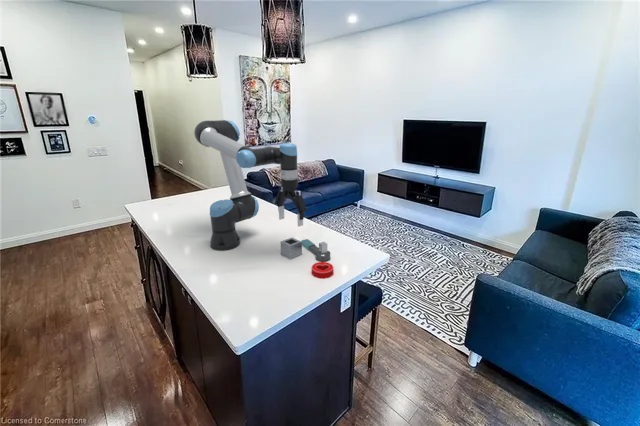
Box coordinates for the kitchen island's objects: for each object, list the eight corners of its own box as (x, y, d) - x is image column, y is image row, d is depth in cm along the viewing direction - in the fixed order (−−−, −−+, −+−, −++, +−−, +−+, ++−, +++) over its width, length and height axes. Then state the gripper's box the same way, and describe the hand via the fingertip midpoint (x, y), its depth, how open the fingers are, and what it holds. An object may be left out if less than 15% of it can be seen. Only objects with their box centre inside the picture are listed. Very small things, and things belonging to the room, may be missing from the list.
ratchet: (298, 245, 156) (298, 231, 153) (310, 242, 159) (310, 229, 157) (320, 263, 138) (320, 247, 135) (332, 259, 141) (333, 244, 138)
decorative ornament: (317, 280, 124) (317, 274, 123) (308, 270, 132) (308, 264, 131) (337, 276, 127) (337, 269, 126) (327, 265, 136) (327, 259, 135)
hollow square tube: (280, 254, 146) (280, 241, 143) (292, 249, 151) (291, 237, 148) (290, 259, 141) (290, 246, 139) (302, 254, 146) (301, 241, 144)
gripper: (266, 175, 139) (268, 218, 146) (301, 184, 123) (302, 231, 129) (278, 173, 144) (280, 214, 151) (314, 181, 128) (314, 226, 134)
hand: (290, 222), depth 140 cm, fingers open, 13 cm apart
